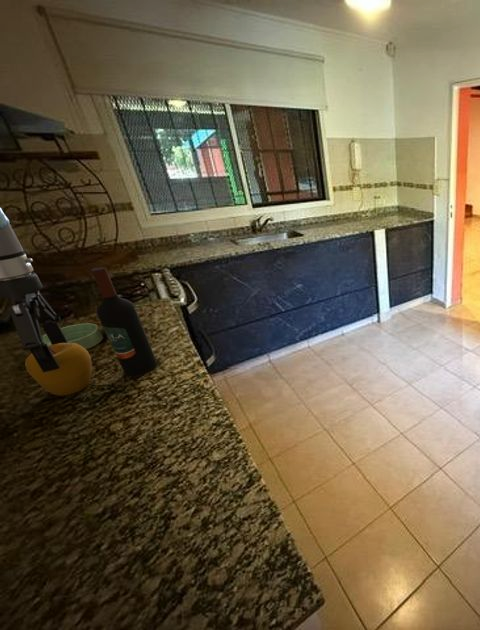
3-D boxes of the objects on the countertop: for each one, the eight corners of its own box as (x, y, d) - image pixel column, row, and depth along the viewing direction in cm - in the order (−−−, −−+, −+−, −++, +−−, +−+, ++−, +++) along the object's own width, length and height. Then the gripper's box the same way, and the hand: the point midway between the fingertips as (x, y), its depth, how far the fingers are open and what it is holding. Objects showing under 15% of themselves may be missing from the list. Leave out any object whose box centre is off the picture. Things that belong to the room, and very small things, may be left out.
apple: (104, 371, 96) (84, 331, 90) (97, 392, 88) (75, 350, 82) (51, 384, 91) (26, 343, 85) (38, 408, 83) (10, 364, 77)
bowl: (30, 359, 102) (22, 346, 100) (71, 335, 114) (65, 323, 112) (79, 358, 102) (72, 345, 100) (114, 334, 115) (109, 323, 113)
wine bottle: (161, 369, 97) (121, 268, 84) (128, 381, 92) (80, 276, 79) (154, 359, 102) (114, 262, 88) (122, 370, 97) (75, 269, 83)
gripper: (21, 288, 69) (69, 375, 78) (46, 260, 87) (82, 333, 96) (-36, 297, 65) (23, 388, 74) (3, 265, 83) (45, 341, 92)
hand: (56, 357), depth 85 cm, fingers open, 13 cm apart
